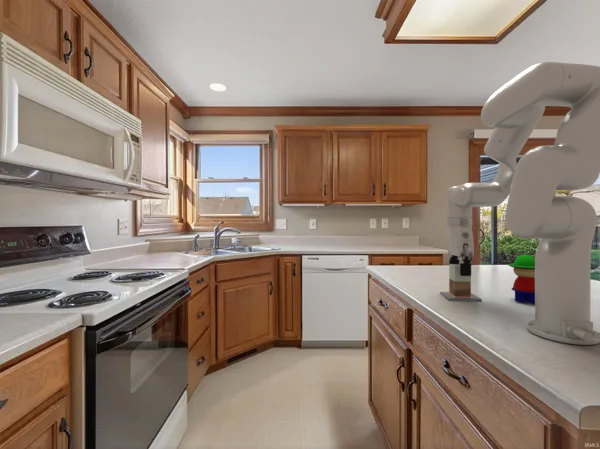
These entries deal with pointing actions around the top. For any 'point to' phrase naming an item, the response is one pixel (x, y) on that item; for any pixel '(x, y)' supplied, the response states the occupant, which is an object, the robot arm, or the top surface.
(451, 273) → the sage block
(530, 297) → the toy
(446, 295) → the slate board
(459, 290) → the walnut block
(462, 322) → the top surface
